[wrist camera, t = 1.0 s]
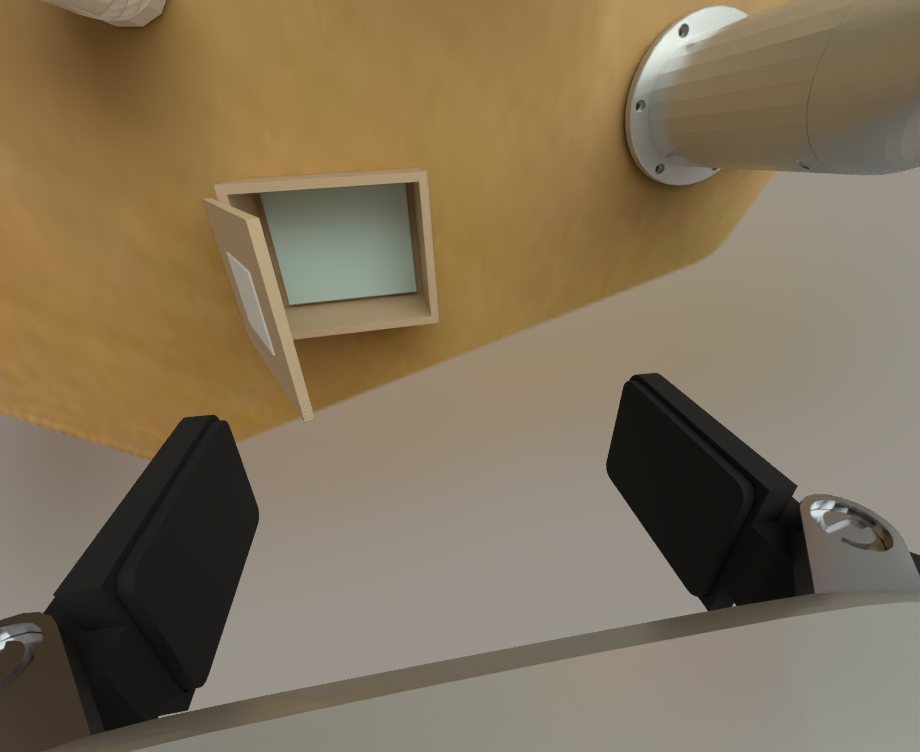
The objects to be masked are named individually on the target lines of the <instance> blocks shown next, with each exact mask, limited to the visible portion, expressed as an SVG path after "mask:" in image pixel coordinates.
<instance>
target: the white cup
mask: <svg viewBox="0 0 920 752" xmlns="http://www.w3.org/2000/svg"><path fill="white" fill-rule="evenodd" d="M40 1H43V2H45V3H48V4H51V5H53V6H56V7H59V8H62V9H65V10H68V11H71V12H74V13H77V14H80V15H83V16H86V17H90V18H94V19H99V20H102V21H104V22H107V23H109V24H112V25H114V26H117V27H143V26H145V25H146V24H148V23H149V22H151V21H152V20H153V19H155V18H156V17H158V16H159V15H161V14H162V11H163V9H164V6H165V3H166V0H40Z"/></svg>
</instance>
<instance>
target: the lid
mask: <svg viewBox="0 0 920 752" xmlns="http://www.w3.org/2000/svg"><path fill="white" fill-rule="evenodd" d="M202 201H203V204H204V207H205V210H206V213H207V216H208V219H209V222H210V224H211V227H212V230H213V233H214V236H215V239H216V242H217V245H218V248H219V251H220V254H221V257H222V260H223V263H224V266H225V269H226V272H227V275H228V278H229V281H230V284H231V287H232V290H233V293H234V296H235V299H236V302H237V305H238V308H239V311H240V314H241V317H242V320H243V323H244V326H245V329H246V332H247V335H248V338H249V340H250V341H251V343H252V344H253V346H254V347H255V349H256V350H257V352H258V353H259V355H260V356H261V358H262V359H263V361H264V362H265V364H266V365H267V367H268V368H269V370H270V371H271V373H272V374H273V376H274V377H275V379H276V380H277V381H278V383H279V384H280V386H281V387H282V389H283V390H284V392H285V393H286V395H287V396H288V398H289V399H290V401H291V402H292V404H293V405H294V407H295V408H296V410H297V411H298V413H299V414H300V416H301V417H302V419H303V420H304V422H307V421H309V420H312V419H314V414H313V411H312V407H311V403H310V400H309V396H308V393H307V389H306V385H305V382H304V378H303V374H302V371H301V367H300V364H299V360H298V356H297V353H296V349H295V346H294V342H293V338H292V335H291V331H290V327H289V324H288V320H287V317H286V313H285V309H284V306H283V302H282V299H281V295H280V291H279V288H278V284H277V281H276V277H275V273H274V270H273V266H272V262H271V259H270V255H269V252H268V248H267V244H266V241H265V237H264V234H263V230H262V226H261V223H260V219H259V218H258V217H255V216H253V215H251V214H248V213H246V212H243V211H241V210H239V209H236V208H234V207H231V206H229V205H226V204H224V203H222V202H219V201H217V200H214V199H212V198H205V199H202Z"/></svg>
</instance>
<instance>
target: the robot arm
mask: <svg viewBox="0 0 920 752" xmlns="http://www.w3.org/2000/svg"><path fill="white" fill-rule="evenodd" d="M678 32H679V33H678ZM636 105H637V108H636ZM625 131H626V138H627V144H628V147H629V150H630V153H631V156H632V157H633V159H634V161H635V163H636V164H637V166H638V167H639V168H640V169H641V171H642V172H643V173H644V174H645V175H646V176H648V177H650V178H651V179H653V180H654V181H656V182H660V183H663V184H666V185H676V186H680V185H690V184H694V183H697V182H700V181H703V180H705V179H707V178H709V177H711V176H713V175H714V174H716V173H717V172H718V171H720V170H721V169H722V168H726V169H747V170H768V171H790V172H810V173H831V174H849V175H883V174H890V173H897V172H902V171H906V170H909V169H913V168H916V167H920V0H793V1H790V2H787V3H784V4H781V5H779V6H776V7H773V8H770V9H767V10H765V11H762V12H759V13H756V14H754V15H751V16H749V15H748V14H746V13H745V12H744V11H741V10H739V9H737V8H735V7H732V6H725V5H715V6H708V7H704V8H701V9H699V10H696V11H694V12H691V13H689V14H687V15H685V16H684V17H682V18H680V19H678V20H676V21H675V22H674V23H673V24H672V25H670V26H669V27H668V28H667V29H665V30H664V31H663V32H662V33H661V34H660V36H659V37H658V38H657V39H656V40H655V41H654V42H653V43H652V45H651V46H650V48H649V49H648V51H647V52H646V54H645V55H644V57H643V58H642V60H641V62H640V64H639V66H638V69H637V71H636V73H635V75H634V77H633V80H632V84H631V87H630V90H629V93H628V98H627V104H626V110H625ZM655 169H656V170H655ZM606 467H607V468H606V469H607V473H608V475H609V477H610V479H611V480H612V482H613V483H614V485H615V486H616V488H617V489H618V491H619V492H620V493H621V495H622V496H623V498H624V499H625V500H626V502H627V503H628V505H629V506H630V508H631V509H632V511H633V512H634V514H635V515H636V516H637V518H638V519H639V521H640V522H641V524H642V525H643V527H644V528H645V530H646V531H647V532H648V534H649V535H650V537H651V538H652V540H653V541H654V542H655V544H656V545H657V547H658V548H659V550H660V551H661V552H662V554H663V555H664V557H665V558H666V560H667V561H668V563H669V564H670V566H671V567H672V568H673V570H674V571H675V573H676V574H677V576H678V577H679V578H680V580H681V581H682V583H683V584H684V586H685V587H686V589H688V591H689V592H690V593H691V594H692V595H694V596H698V598H699V599H700V600H701V602H702V603H703V605H704V606H705V607H706V609H707V610H708V612H702V613H696V614H691V615H685V616H680V617H674V618H669V619H663V620H659V621H653V622H647V623H642V624H636V625H631V626H625V627H620V628H615V629H609V630H604V631H598V632H594V633H588V634H582V635H577V636H572V637H567V638H561V639H556V640H551V641H545V642H540V643H535V644H529V645H524V646H519V647H513V648H509V649H503V650H498V651H493V652H488V653H483V654H477V655H472V656H466V657H461V658H456V659H451V660H445V661H440V662H435V663H430V664H424V665H419V666H415V667H409V668H404V669H399V670H394V671H389V672H384V673H378V674H373V675H368V676H363V677H358V678H353V679H347V680H343V681H337V682H332V683H327V684H322V685H317V686H312V687H306V688H301V689H296V690H291V691H286V692H281V693H276V694H271V695H265V696H261V697H256V698H251V699H247V700H242V701H237V702H233V703H228V704H223V705H219V706H214V707H209V708H204V709H200V710H195V711H190V712H186V713H181V714H176V715H172V716H167V717H162V718H158V716H161V715H166V714H171V713H177V712H182V711H187V710H188V709H189V706H190V703H191V700H192V697H193V694H194V692H195V689H196V688H199V687H201V686H203V685H204V683H205V682H206V680H207V677H208V675H209V672H210V669H211V666H212V663H213V660H214V656H215V654H216V650H217V648H218V644H219V641H220V638H221V635H222V632H223V629H224V626H225V623H226V620H227V616H228V614H229V611H230V608H231V605H232V602H233V599H234V596H235V592H236V589H237V586H238V583H239V580H240V577H241V574H242V571H243V568H244V565H245V562H246V559H247V556H248V553H249V550H250V546H251V544H252V541H253V537H254V535H255V531H256V528H257V525H258V521H259V511H258V506H257V503H256V500H255V497H254V495H253V492H252V489H251V486H250V483H249V480H248V477H247V475H246V472H245V469H244V466H243V463H242V460H241V458H240V455H239V452H238V449H237V446H236V443H235V441H234V438H233V435H232V432H231V429H230V426H229V424H228V423H227V422H226V421H225V420H223V421H220V420H219V418H218V417H217V416H215V415H206V416H195V417H186V418H183V419H182V420H181V421H180V423H179V424H178V425H177V427H176V428H175V429H174V431H173V432H172V433H171V435H170V436H169V438H168V439H167V440H166V442H165V443H164V444H163V446H162V447H161V448H160V450H159V451H158V453H157V454H156V455H155V457H154V458H153V459H152V461H151V462H150V464H149V465H148V466H147V468H146V469H145V470H144V472H143V473H142V475H141V476H140V477H139V478H138V480H137V481H136V483H135V484H134V485H133V487H132V488H131V490H130V491H129V492H128V494H127V495H126V496H125V498H124V499H123V500H122V502H121V503H120V504H119V506H118V507H117V508H116V510H115V511H114V513H113V514H112V515H111V517H110V518H109V519H108V521H107V522H106V523H105V525H104V526H103V528H102V529H101V530H100V532H99V533H98V534H97V536H96V537H95V539H94V540H93V541H92V543H91V544H90V545H89V547H88V548H87V549H86V551H85V552H84V553H83V555H82V556H81V558H80V559H79V560H78V562H77V563H76V564H75V566H74V567H73V568H72V570H71V571H70V573H69V574H68V575H67V577H66V578H65V579H64V581H63V582H62V583H61V585H60V586H59V588H58V589H57V590H56V592H55V593H54V594H53V595H54V596H55V598H54V599H53V601H52V602H51V603H50V605H49V606H48V608H47V609H46V610H45V612H44V613H40V612H32V613H22V614H18V615H15V616H12V617H9V618H5V619H2V620H0V752H920V555H917V554H914V553H912V552H909V550H908V548H907V545H906V543H905V541H904V539H903V538H902V536H901V535H900V533H899V532H898V531H897V530H896V529H895V528H894V527H893V526H892V525H891V524H890V523H889V522H888V521H886V520H885V519H884V518H882V517H881V516H879V515H878V514H876V513H874V512H873V511H871V510H869V509H867V508H865V507H864V506H862V505H860V504H858V503H855V502H852V501H849V500H847V499H844V498H841V497H836V496H832V495H825V494H814V495H810V496H806V497H805V498H804V499H803V500H802V501H801V502H800V503H799V502H798V501H796V500H795V499H794V498H793V497H792V495H793V494H794V492H795V489H796V488H797V485H795V484H794V483H793V482H792V481H791V480H789V479H788V478H787V477H786V476H784V475H783V474H782V473H781V472H780V471H778V470H777V469H776V468H775V467H773V466H772V465H771V464H770V463H769V462H767V461H766V460H765V459H764V458H762V457H761V456H760V455H759V454H757V453H756V452H755V451H754V450H753V449H751V448H750V447H749V446H748V445H746V444H745V443H744V442H743V441H741V440H740V439H739V438H738V437H737V436H735V435H734V434H733V433H732V432H730V431H729V430H728V429H727V428H725V427H724V426H723V425H722V424H721V423H719V422H718V421H717V420H715V419H714V418H713V417H712V416H711V415H709V414H708V413H707V412H706V411H705V410H703V409H702V408H701V407H699V406H698V405H697V404H696V403H695V402H693V401H692V400H691V399H690V398H689V397H687V396H686V395H685V394H683V393H682V392H681V391H680V390H678V389H677V388H676V387H675V386H674V385H672V384H671V383H670V382H669V381H668V380H666V379H665V378H664V377H662V376H661V375H660V374H658V373H650V374H639V375H634V376H632V377H631V379H630V380H629V381H628V382H626V383H625V384H624V387H623V391H622V396H621V400H620V404H619V409H618V413H617V418H616V422H615V427H614V431H613V436H612V440H611V445H610V449H609V454H608V458H607V463H606ZM733 603H735V604H736V606H735V607H732V605H733Z"/></svg>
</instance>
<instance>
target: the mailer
mask: <svg viewBox="0 0 920 752" xmlns="http://www.w3.org/2000/svg"><path fill="white" fill-rule="evenodd" d="M214 188H215V191H216V194H217V198H218V201H219V202H222V203H224V204H226V205H229V206H231V207H234V208H236V209H239V210H241V211H243V212H246V213H248V214H251V215H253V216H255V217H258V218H259V219H260V223H261V226H262V230H263V234H264V237H265V241H266V244H267V248H268V252H269V255H270V259H271V262H272V266H273V270H274V273H275V277H276V281H277V284H278V288H279V291H280V295H281V299H282V302H283V306H284V309H285V313H286V317H287V320H288V324H289V327H290V331H291V335H292V338H293V340H295V339H304V338H312V337H321V336H329V335H338V334H346V333H355V332H364V331H372V330H381V329H389V328H398V327H406V326H415V325H423V324H432V323H439V315H438V302H437V290H436V277H435V265H434V252H433V240H432V228H431V215H430V203H429V190H428V178H427V171H425V170H422V169H419V168H405V169H389V170H373V171H358V172H342V173H326V174H311V175H295V176H279V177H263V178H248V179H240V180H236V181H231V182H226V183H221V184H217V185H214Z"/></svg>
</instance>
